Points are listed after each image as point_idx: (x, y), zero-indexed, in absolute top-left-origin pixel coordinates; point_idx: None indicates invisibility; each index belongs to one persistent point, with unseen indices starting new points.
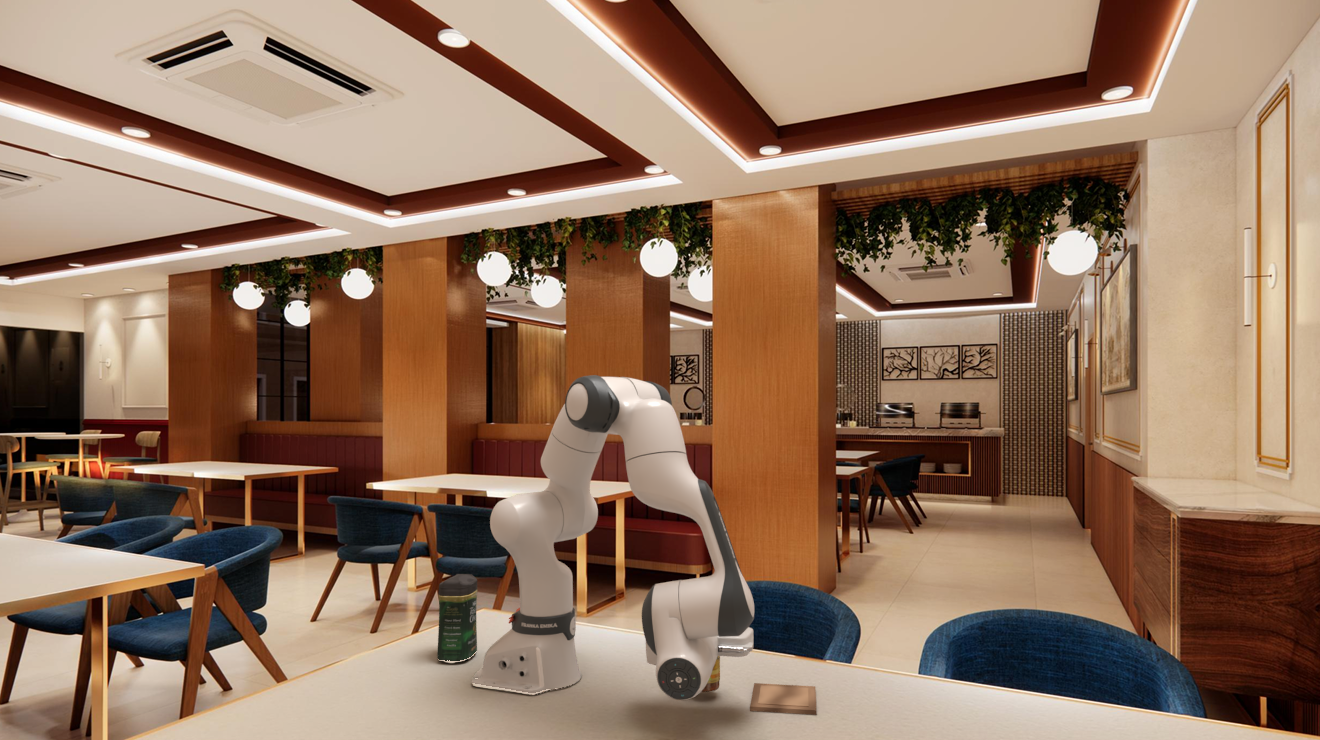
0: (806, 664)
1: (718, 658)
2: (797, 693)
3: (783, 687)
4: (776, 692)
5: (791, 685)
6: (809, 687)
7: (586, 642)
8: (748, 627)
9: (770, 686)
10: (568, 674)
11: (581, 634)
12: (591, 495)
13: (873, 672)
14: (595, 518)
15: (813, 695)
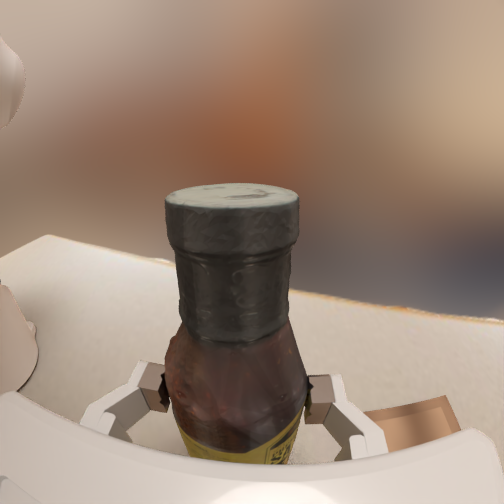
0: (391, 321)
1: (289, 455)
2: (435, 434)
3: (405, 419)
4: (401, 445)
5: (413, 405)
6: (440, 402)
7: (86, 278)
8: (481, 440)
9: (382, 422)
10: (2, 379)
11: (90, 264)
12: (11, 51)
13: (466, 325)
14: (6, 87)
15: (457, 429)
